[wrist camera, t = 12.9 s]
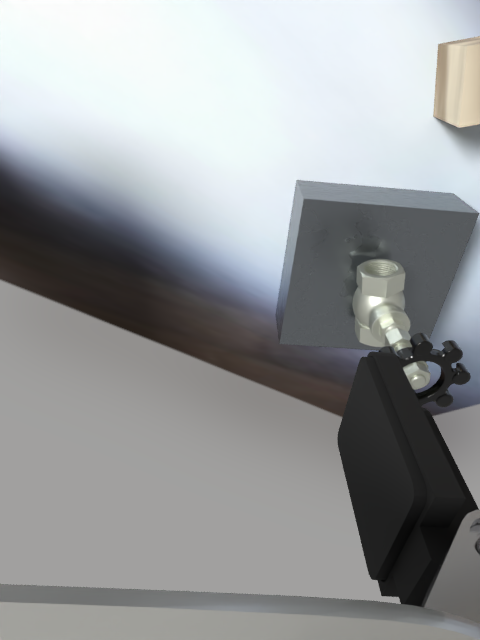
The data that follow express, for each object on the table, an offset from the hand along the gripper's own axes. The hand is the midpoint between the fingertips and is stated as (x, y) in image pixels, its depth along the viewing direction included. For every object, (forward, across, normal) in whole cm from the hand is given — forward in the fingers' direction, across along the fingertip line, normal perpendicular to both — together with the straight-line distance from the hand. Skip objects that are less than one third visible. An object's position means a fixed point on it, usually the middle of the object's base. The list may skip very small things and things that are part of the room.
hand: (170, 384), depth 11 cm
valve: (+26, -14, +11) cm, 31 cm away
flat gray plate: (+30, -14, +10) cm, 35 cm away
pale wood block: (+30, -19, -6) cm, 36 cm away
